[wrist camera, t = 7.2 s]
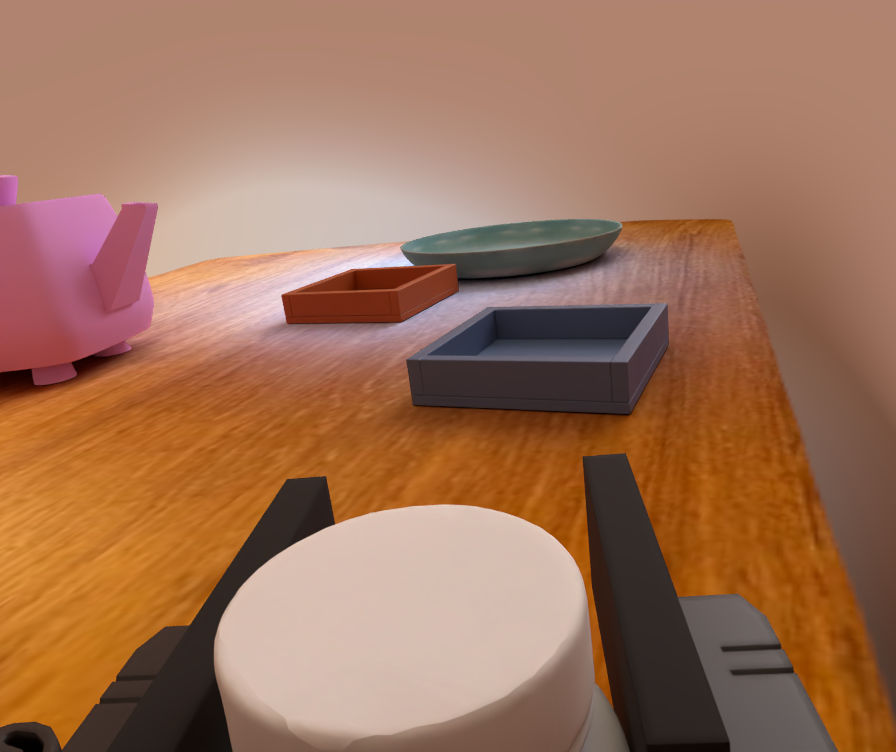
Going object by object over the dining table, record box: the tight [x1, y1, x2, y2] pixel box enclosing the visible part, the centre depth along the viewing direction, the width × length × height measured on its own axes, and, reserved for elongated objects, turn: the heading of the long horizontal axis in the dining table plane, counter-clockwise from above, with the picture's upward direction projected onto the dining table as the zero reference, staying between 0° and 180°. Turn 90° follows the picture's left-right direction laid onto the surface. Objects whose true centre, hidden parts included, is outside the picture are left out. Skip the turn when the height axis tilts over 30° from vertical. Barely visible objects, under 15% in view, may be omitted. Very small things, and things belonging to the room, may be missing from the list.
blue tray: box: [406, 303, 669, 414], centre depth 41 cm, size 12×12×3 cm
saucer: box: [400, 219, 623, 278], centre depth 80 cm, size 24×24×3 cm
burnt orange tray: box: [282, 264, 459, 324], centre depth 66 cm, size 12×12×3 cm
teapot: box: [0, 175, 158, 385], centre depth 57 cm, size 19×18×15 cm
